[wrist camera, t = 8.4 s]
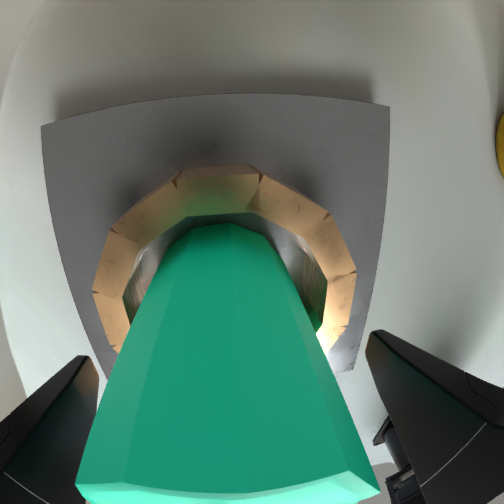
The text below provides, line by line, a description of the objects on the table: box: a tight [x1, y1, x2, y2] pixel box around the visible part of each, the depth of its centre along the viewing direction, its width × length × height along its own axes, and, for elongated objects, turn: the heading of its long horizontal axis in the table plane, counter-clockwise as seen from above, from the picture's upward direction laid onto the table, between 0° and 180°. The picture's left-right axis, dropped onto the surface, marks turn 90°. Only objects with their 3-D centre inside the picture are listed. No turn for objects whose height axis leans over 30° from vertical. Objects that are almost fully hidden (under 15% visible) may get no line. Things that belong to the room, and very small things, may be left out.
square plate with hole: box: [41, 93, 390, 380], centre depth 12 cm, size 16×16×4 cm
